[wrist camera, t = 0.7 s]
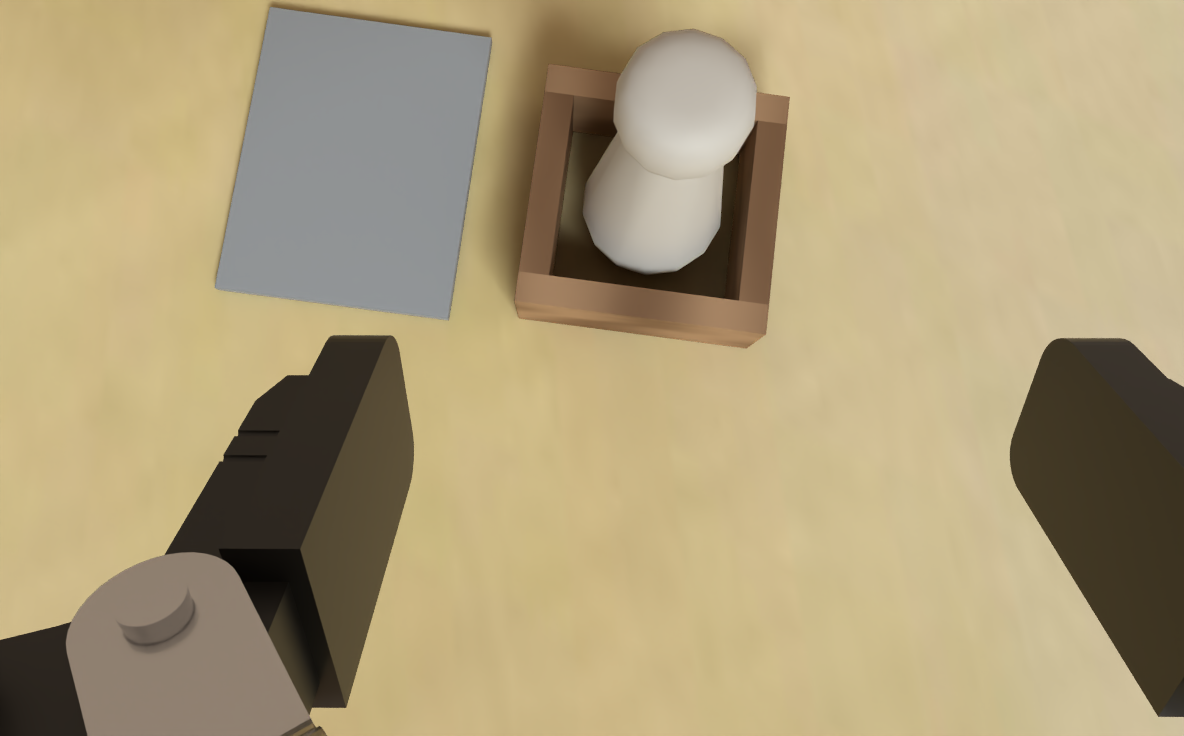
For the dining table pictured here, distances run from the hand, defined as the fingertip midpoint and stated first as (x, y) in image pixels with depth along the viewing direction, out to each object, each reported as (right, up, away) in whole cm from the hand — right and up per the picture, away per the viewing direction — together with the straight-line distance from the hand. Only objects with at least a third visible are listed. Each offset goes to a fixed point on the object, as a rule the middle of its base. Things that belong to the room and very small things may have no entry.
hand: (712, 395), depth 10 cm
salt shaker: (+1, +7, +26) cm, 27 cm away
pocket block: (+1, +7, +26) cm, 27 cm away
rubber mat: (-12, +9, +26) cm, 30 cm away
